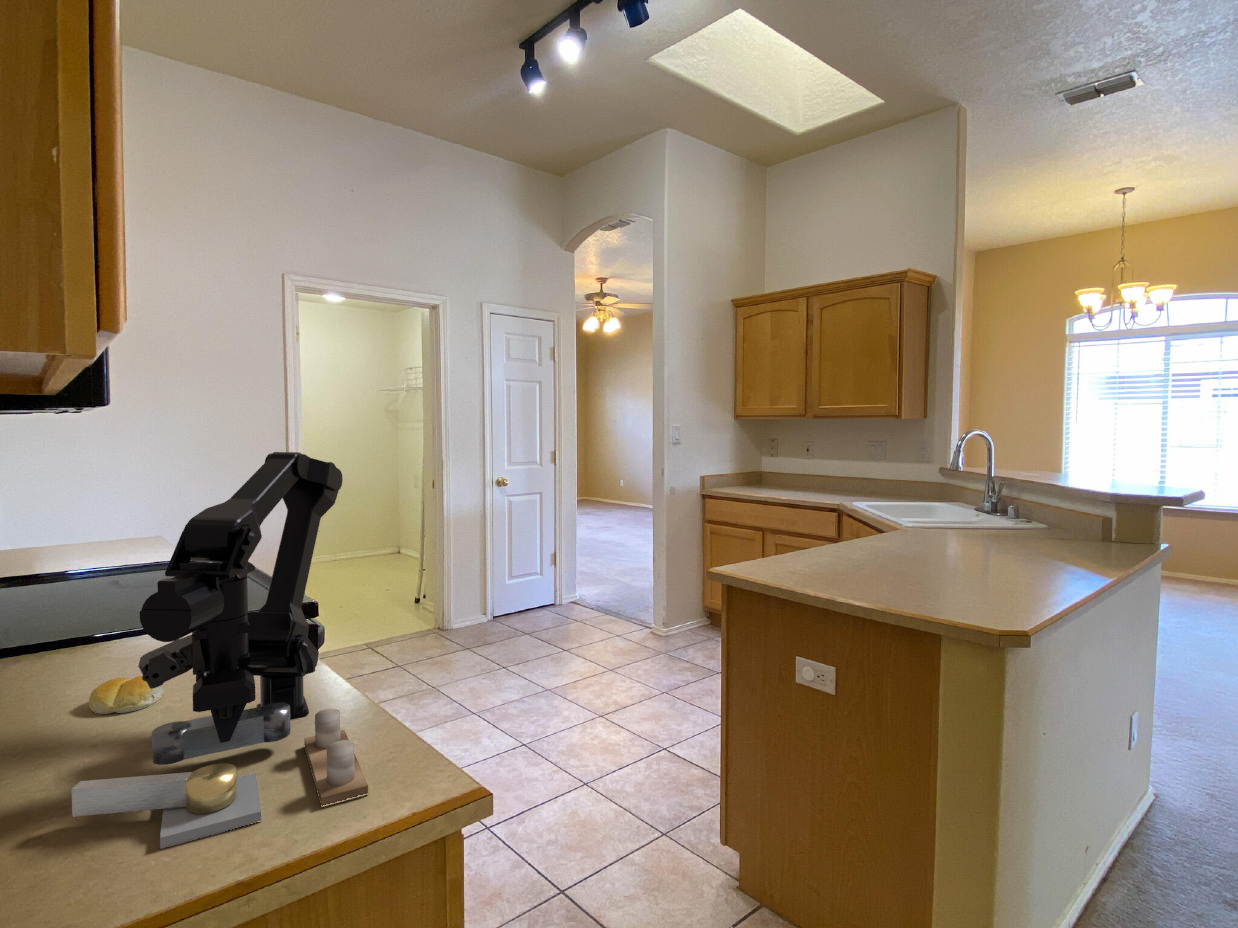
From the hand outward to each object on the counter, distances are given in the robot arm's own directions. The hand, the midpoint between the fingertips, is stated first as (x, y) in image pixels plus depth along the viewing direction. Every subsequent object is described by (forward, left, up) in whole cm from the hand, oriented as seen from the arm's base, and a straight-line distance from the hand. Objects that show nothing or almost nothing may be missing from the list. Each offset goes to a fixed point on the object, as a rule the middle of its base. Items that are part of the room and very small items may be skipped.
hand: (224, 735), depth 84 cm
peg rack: (+9, +11, -3) cm, 15 cm away
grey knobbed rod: (0, 0, -1) cm, 1 cm away
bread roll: (-27, -12, -4) cm, 30 cm away
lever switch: (+10, -6, -2) cm, 12 cm away
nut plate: (+12, -2, -3) cm, 12 cm away
